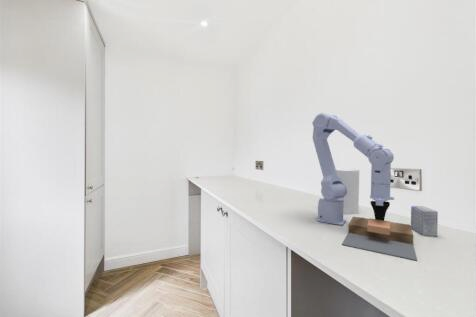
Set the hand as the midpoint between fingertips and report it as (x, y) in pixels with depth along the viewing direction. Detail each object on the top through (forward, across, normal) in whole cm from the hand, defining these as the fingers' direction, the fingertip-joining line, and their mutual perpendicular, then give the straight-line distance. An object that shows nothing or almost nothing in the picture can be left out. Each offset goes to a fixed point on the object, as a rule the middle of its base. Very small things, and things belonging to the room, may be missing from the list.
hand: (379, 222), depth 80 cm
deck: (+4, 0, 0) cm, 4 cm away
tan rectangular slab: (+1, -6, 0) cm, 6 cm away
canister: (+4, +28, +16) cm, 32 cm away
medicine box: (+4, +10, -13) cm, 17 cm away
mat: (+4, -13, 0) cm, 13 cm away
